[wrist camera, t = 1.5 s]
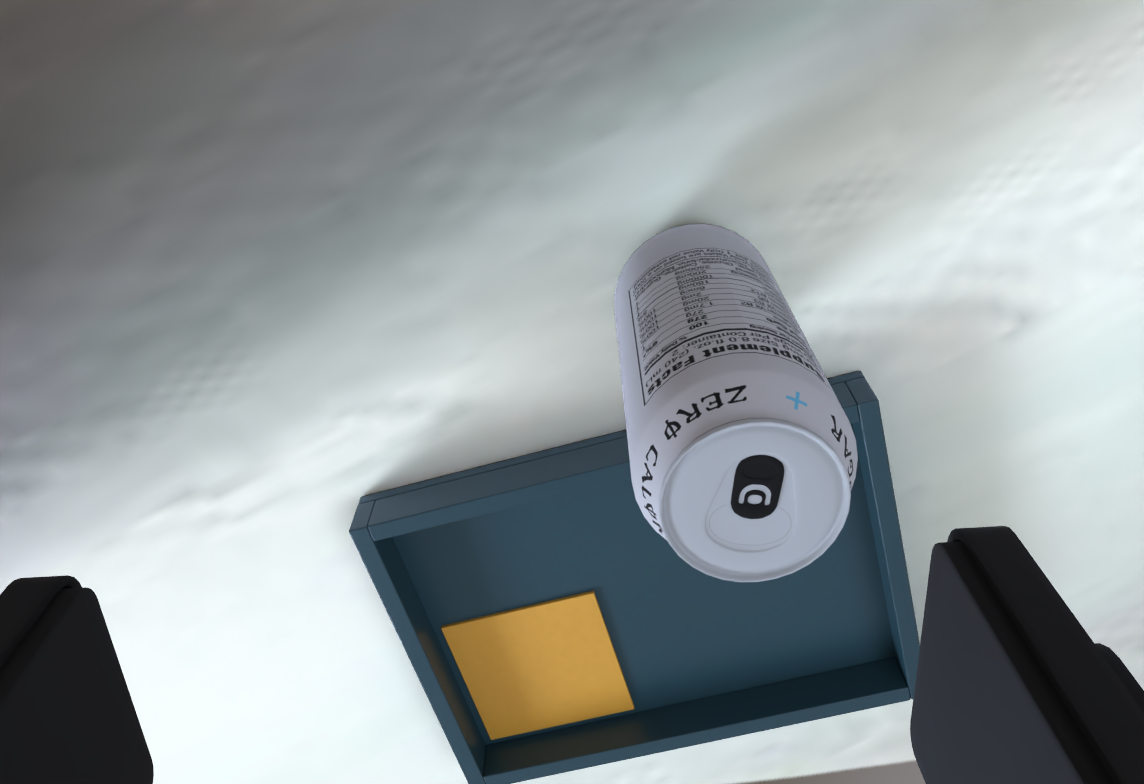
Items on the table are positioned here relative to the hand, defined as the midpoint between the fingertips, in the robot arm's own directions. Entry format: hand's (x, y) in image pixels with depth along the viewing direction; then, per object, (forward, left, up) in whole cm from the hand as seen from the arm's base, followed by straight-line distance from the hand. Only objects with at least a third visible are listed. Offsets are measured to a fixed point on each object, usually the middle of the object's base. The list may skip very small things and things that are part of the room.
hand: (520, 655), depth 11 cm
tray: (+2, +20, -27) cm, 34 cm away
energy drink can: (-3, +7, -28) cm, 29 cm away
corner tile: (+8, +23, -27) cm, 36 cm away
